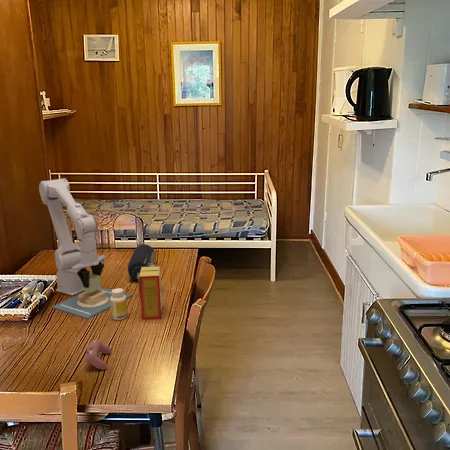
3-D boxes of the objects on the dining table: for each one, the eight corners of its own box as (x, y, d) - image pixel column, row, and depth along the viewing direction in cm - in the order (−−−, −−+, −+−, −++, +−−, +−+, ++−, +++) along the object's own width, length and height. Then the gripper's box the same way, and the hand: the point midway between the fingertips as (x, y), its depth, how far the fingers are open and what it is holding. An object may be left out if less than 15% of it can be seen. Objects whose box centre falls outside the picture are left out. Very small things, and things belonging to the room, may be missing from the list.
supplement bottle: (130, 314, 164) (128, 288, 161) (122, 321, 159) (120, 294, 156) (116, 312, 165) (114, 286, 163) (108, 319, 160) (106, 292, 158)
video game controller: (99, 357, 140) (87, 339, 138) (113, 350, 139) (100, 332, 138) (93, 376, 130) (80, 357, 128) (108, 369, 130) (94, 349, 128)
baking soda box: (161, 318, 160) (159, 274, 156) (141, 319, 160) (139, 275, 156) (162, 306, 169) (160, 265, 165) (144, 307, 169) (141, 265, 165)
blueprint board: (52, 308, 169) (51, 298, 168) (97, 287, 187) (96, 278, 187) (87, 319, 160) (86, 309, 159) (131, 296, 178) (131, 287, 177)
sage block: (83, 290, 172) (81, 275, 170) (92, 285, 175) (90, 271, 174) (91, 292, 169) (90, 278, 168) (100, 288, 173) (99, 274, 172)
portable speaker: (151, 283, 191) (150, 260, 189) (127, 284, 191) (125, 260, 188) (156, 262, 216) (155, 241, 213) (134, 263, 215) (133, 242, 212)
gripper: (80, 257, 161) (84, 294, 164) (110, 246, 172) (113, 280, 176) (66, 254, 164) (70, 290, 168) (97, 243, 176) (100, 277, 180)
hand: (91, 285), depth 172 cm, fingers closed on sage block, 4 cm apart
